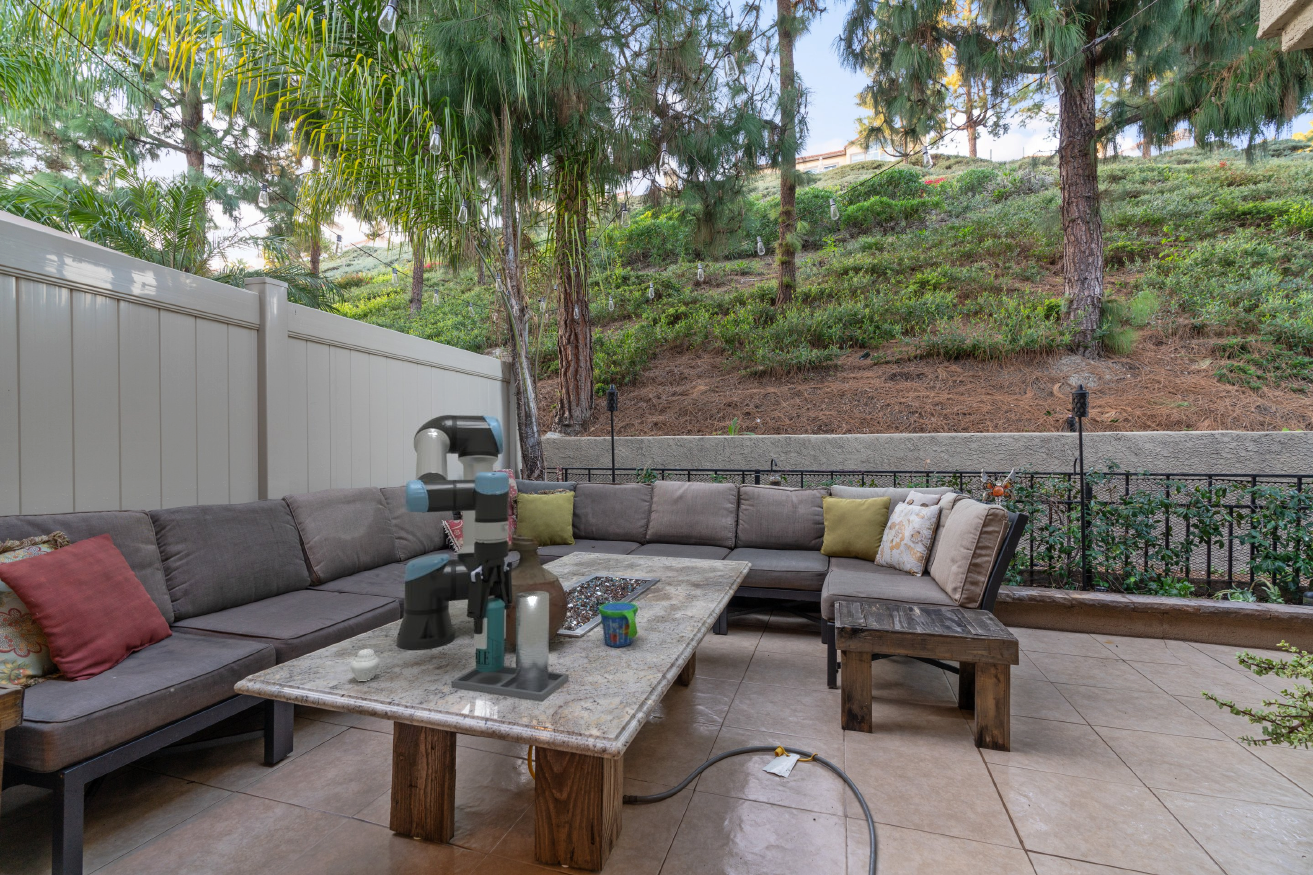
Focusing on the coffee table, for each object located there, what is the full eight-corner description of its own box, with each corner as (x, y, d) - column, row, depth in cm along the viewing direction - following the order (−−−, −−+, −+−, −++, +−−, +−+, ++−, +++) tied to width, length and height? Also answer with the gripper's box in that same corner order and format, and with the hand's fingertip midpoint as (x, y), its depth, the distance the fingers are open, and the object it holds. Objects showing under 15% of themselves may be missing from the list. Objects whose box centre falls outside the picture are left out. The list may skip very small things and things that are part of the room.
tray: (483, 673, 133) (483, 662, 133) (568, 684, 126) (568, 674, 126) (451, 692, 122) (451, 680, 122) (542, 706, 115) (542, 694, 115)
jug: (569, 655, 144) (568, 538, 146) (482, 662, 140) (482, 541, 142) (566, 631, 166) (566, 529, 167) (490, 636, 161) (491, 531, 163)
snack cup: (590, 638, 159) (590, 602, 159) (623, 633, 164) (623, 597, 164) (612, 655, 145) (612, 615, 146) (648, 648, 150) (648, 610, 151)
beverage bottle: (507, 668, 129) (509, 581, 130) (500, 679, 123) (502, 587, 124) (479, 668, 129) (480, 581, 130) (470, 679, 122) (472, 587, 123)
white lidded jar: (381, 672, 133) (381, 642, 134) (378, 682, 128) (379, 651, 128) (351, 676, 131) (352, 646, 131) (347, 686, 125) (348, 654, 126)
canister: (526, 678, 127) (527, 589, 128) (554, 682, 125) (554, 592, 125) (509, 691, 120) (510, 597, 121) (538, 695, 118) (538, 599, 119)
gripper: (479, 547, 117) (477, 659, 116) (528, 535, 135) (527, 631, 134) (449, 545, 119) (447, 655, 118) (502, 534, 138) (501, 628, 137)
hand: (490, 642), depth 126 cm, fingers closed on beverage bottle, 6 cm apart
